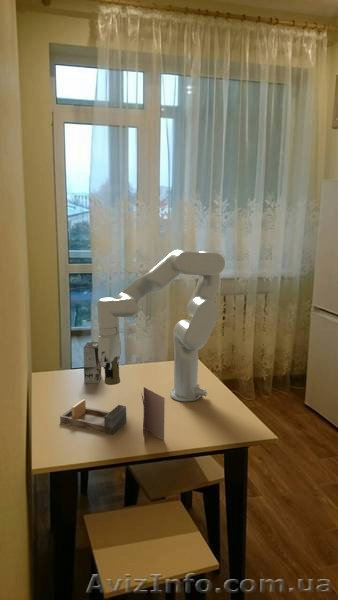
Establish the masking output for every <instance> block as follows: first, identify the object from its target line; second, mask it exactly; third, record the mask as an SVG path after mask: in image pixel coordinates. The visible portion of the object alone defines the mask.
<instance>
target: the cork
mask: <svg viewBox="0 0 338 600" xmlns="http://www.w3.org/2000/svg"><path fill="white" fill-rule="evenodd" d="M106 361H108V360H106ZM117 361H118V357H117V356H116V357H115V358H114V360H113V361H112V369H113V379H111V377H109V378H105V377H104V384H105V385H107V386H115V385H117V384H120V382H121V377H120V371H119V372H118V367H117ZM106 364H108V365H109V363H106Z"/></svg>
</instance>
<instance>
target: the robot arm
mask: <svg viewBox="0 0 338 600" xmlns="http://www.w3.org/2000/svg"><path fill="white" fill-rule="evenodd" d="M225 267H226V260H225V258H224V257H223V256H222V255H221V254H220V253H218V252H215V251H211V250H206V249H205V250H203V249H202V250H200V251H198V252H197V251H188V250H184V249H175V250H173V251H171V252H169V253H168V254H167V256H165V257H164V258H163V259H162V260H161V261H159V262H158V263H157V264H156V265H155V266H154V267H152V269H150V270H149V271H148V272H146V273H145V274H144V275H142V276H140V277H139V278H137V279H135V280H134V281H133V282H131V283H130V284H129V285H127V286H126V287H125V288H124V289H123V290H121V292H120V293H118V295H117V296H116V297H102V298H99V299H98V300H97V302H96V307H97V324H98V334H99V335H98V358H99V361H100V362H101V364H100V365H101V367H102V368H103V370H104V379H105V378H109V377H111V379H113V369H112V361H113V360H114V358H115V357H116V356H117V357H118V361H117V367H118V372H119V373H120V360H121V359H120V358H121V355H122V343H121V337H120V321H119V318H133V317H135V316H136V315H138V314H139V312H140V303H139V301H141V300H142V299H143V298H144V297H146V296H147V295H149V294H152V293H157V292H160V291H162V290H164V289H165V288H166V287H168V286H169V284H171V283H172V282H173V281H174V280H175V279H176V278H178V277H179V276H180V275H189V276H198V281H197V284H196V287H195V288H194V291H193V293H192V295H191V297H190V299H189V301H188V304H187V306H186V312H187V314H188V315H189V317H191V319H181V320H179V321H177V322H176V324H175V325H174V326H173V327H174V328H173V332H172V333H173V334H172V336H173V338H172V339H173V347H174V363H173V365H174V369H173V379H174V380H173V389H171V390H170V392H169V396H170V397H171V398H172V399H174V400H175V401H178V402H194V401H197V400H199V399H200V398H201V397H202V396H203V397H207V395H208V391H207V389H205V388H201V387H200V384H199V383H198V377H199V376H198V372H199V368H198V366H199V350H201V349H203V348H204V346H205V345H206V344H207V343H208V341H209V338H210V336H211V333H212V332H213V330H214V328H215V325H216V324H217V322H218V319H219V318H218V317H219V314H220V313H219V312H220V311H219V307H218V305H217V303H216V302H215V298H216V297H217V294H218V291H219V288H220V282H221V276H220V273H222V272H223V270H224V269H225ZM106 360H108V361H106ZM106 363H109V365H108V364H106Z"/></svg>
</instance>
